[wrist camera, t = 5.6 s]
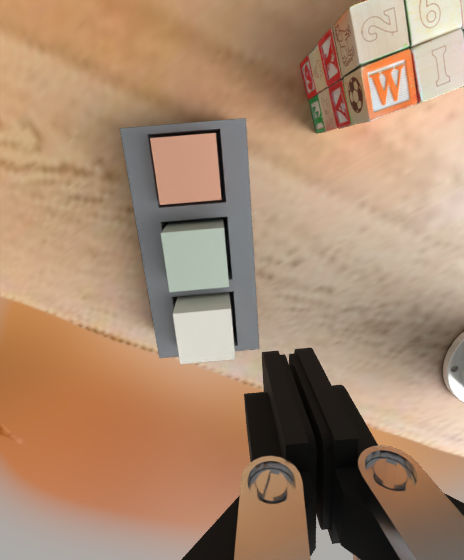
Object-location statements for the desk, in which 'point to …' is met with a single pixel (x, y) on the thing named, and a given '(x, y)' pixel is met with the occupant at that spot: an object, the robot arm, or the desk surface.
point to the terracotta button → (186, 168)
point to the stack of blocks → (384, 60)
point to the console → (229, 208)
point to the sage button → (195, 254)
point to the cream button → (204, 328)
